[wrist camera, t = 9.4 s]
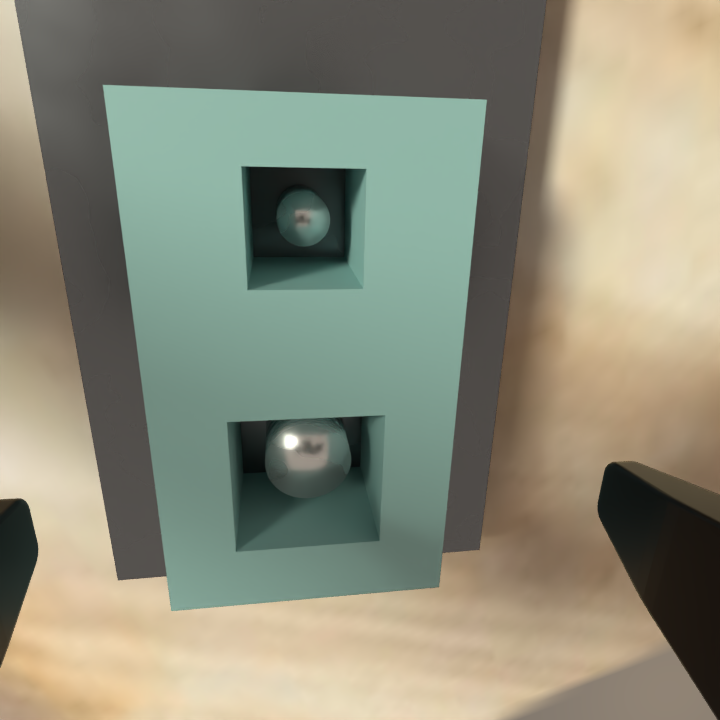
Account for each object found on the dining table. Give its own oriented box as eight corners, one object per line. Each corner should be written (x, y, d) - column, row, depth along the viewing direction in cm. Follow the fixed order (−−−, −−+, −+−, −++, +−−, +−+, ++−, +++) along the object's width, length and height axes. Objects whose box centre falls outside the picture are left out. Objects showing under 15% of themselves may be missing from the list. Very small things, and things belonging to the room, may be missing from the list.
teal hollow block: (410, 508, 18) (439, 586, 15) (190, 523, 17) (171, 611, 14) (437, 109, 14) (486, 100, 11) (145, 99, 13) (102, 84, 10)
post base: (129, 548, 19) (94, 646, 15) (23, -98, 12) (-83, -197, 9) (465, 522, 21) (506, 604, 17) (528, -59, 14) (618, -130, 10)
